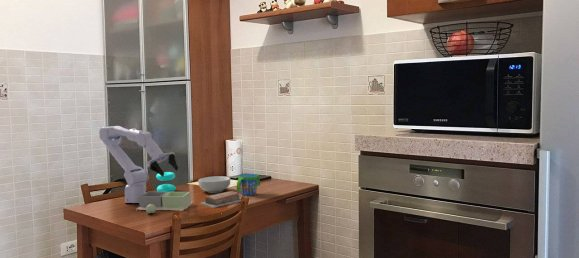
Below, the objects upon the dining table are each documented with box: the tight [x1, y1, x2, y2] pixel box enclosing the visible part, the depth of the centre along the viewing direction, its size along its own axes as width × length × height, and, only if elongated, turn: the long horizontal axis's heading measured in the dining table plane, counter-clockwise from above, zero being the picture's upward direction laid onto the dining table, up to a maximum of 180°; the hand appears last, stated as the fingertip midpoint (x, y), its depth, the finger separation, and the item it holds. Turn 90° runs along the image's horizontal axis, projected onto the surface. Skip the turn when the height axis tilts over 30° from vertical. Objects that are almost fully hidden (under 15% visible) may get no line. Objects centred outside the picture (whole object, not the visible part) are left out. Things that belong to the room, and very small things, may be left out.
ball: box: [145, 204, 157, 214], centre depth 221 cm, size 4×4×4 cm
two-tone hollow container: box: [136, 191, 193, 212], centre depth 233 cm, size 22×14×6 cm, turn 84°
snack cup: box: [236, 173, 261, 197], centre depth 255 cm, size 16×10×10 cm
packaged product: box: [200, 190, 241, 209], centre depth 239 cm, size 18×5×10 cm
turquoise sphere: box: [155, 171, 177, 193], centre depth 267 cm, size 10×10×10 cm
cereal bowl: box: [197, 175, 231, 194], centre depth 264 cm, size 17×17×7 cm
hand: (170, 172), depth 229 cm, fingers open, 7 cm apart
